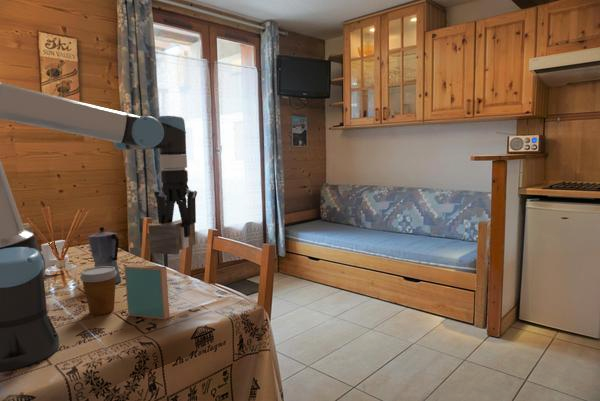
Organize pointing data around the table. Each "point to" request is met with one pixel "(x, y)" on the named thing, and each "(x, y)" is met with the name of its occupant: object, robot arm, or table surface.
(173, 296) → the table surface
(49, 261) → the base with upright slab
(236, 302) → the table surface
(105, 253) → the moka pot
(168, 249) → the tan flared wedge
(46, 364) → the table surface
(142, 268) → the tile
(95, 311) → the disposable coffee cup
